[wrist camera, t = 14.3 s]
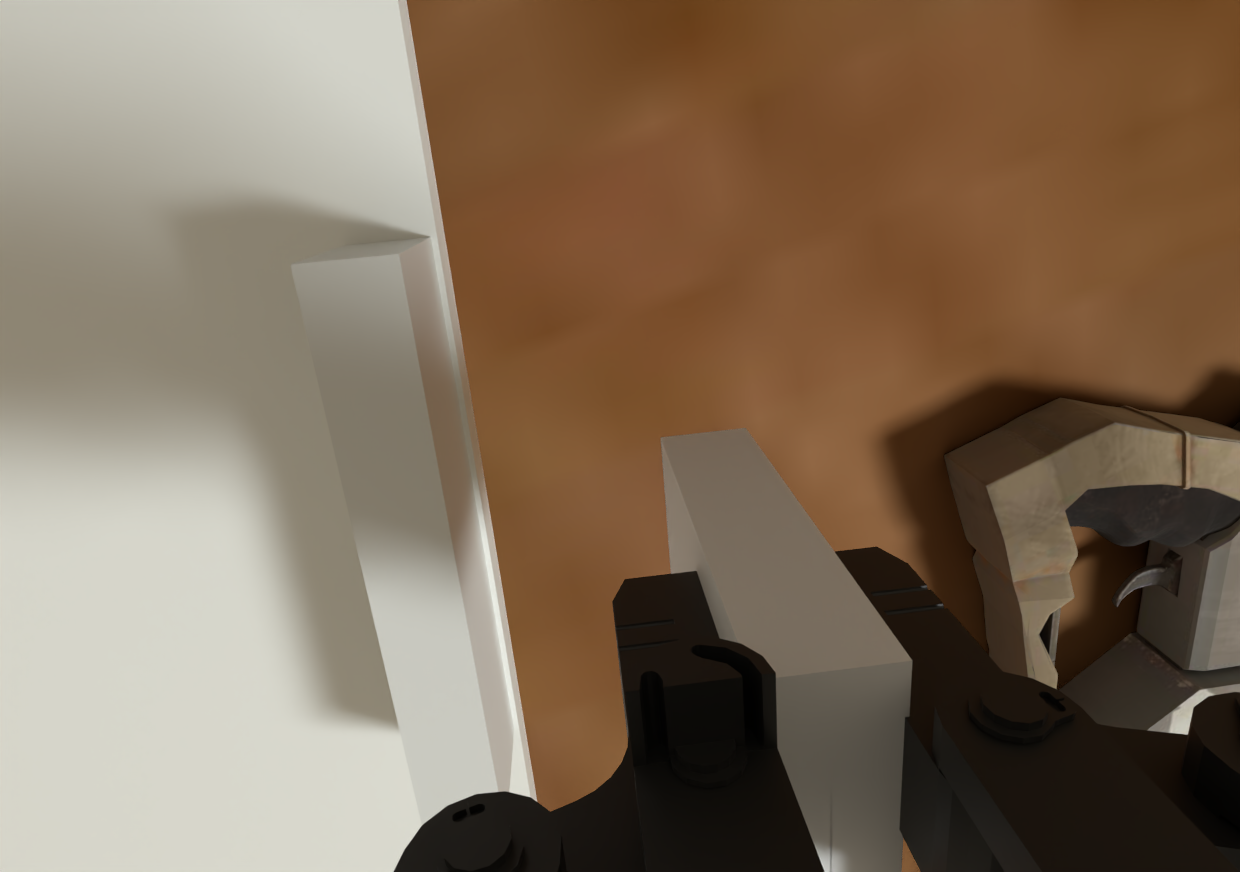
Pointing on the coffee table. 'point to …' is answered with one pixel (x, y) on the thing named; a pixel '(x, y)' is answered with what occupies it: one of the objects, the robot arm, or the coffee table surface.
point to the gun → (1127, 516)
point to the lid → (234, 448)
